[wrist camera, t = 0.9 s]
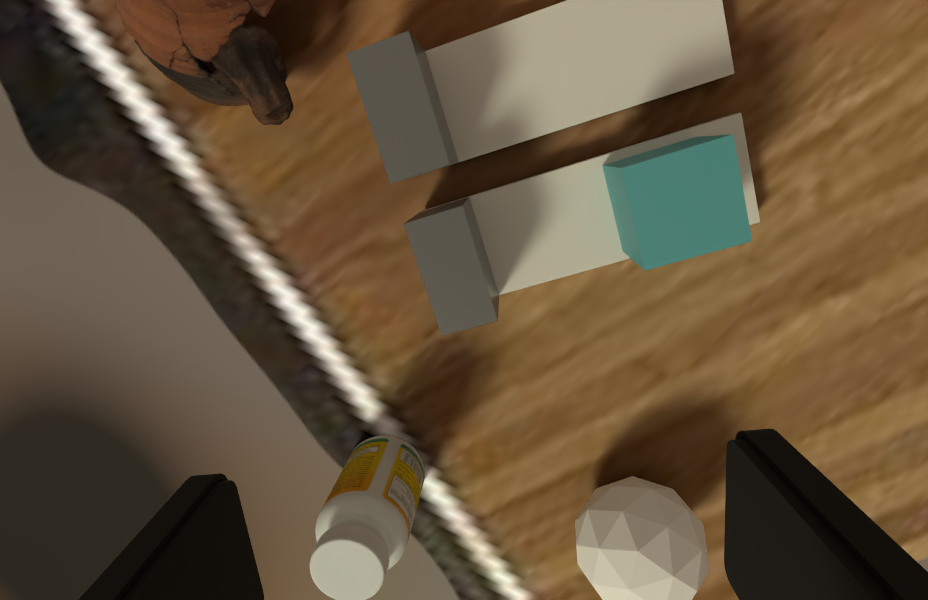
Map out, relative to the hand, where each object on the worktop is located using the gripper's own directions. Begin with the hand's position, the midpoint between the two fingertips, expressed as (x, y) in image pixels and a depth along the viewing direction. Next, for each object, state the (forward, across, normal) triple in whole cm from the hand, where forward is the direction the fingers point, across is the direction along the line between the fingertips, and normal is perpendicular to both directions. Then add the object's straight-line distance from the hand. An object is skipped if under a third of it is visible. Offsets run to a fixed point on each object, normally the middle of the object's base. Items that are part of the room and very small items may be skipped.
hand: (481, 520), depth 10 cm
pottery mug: (+24, +12, -15) cm, 31 cm away
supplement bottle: (+24, +8, +13) cm, 29 cm away
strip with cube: (+23, -6, -3) cm, 24 cm away
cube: (+22, -10, -3) cm, 24 cm away
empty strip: (+23, -5, -10) cm, 26 cm away
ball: (+23, -8, +17) cm, 30 cm away
